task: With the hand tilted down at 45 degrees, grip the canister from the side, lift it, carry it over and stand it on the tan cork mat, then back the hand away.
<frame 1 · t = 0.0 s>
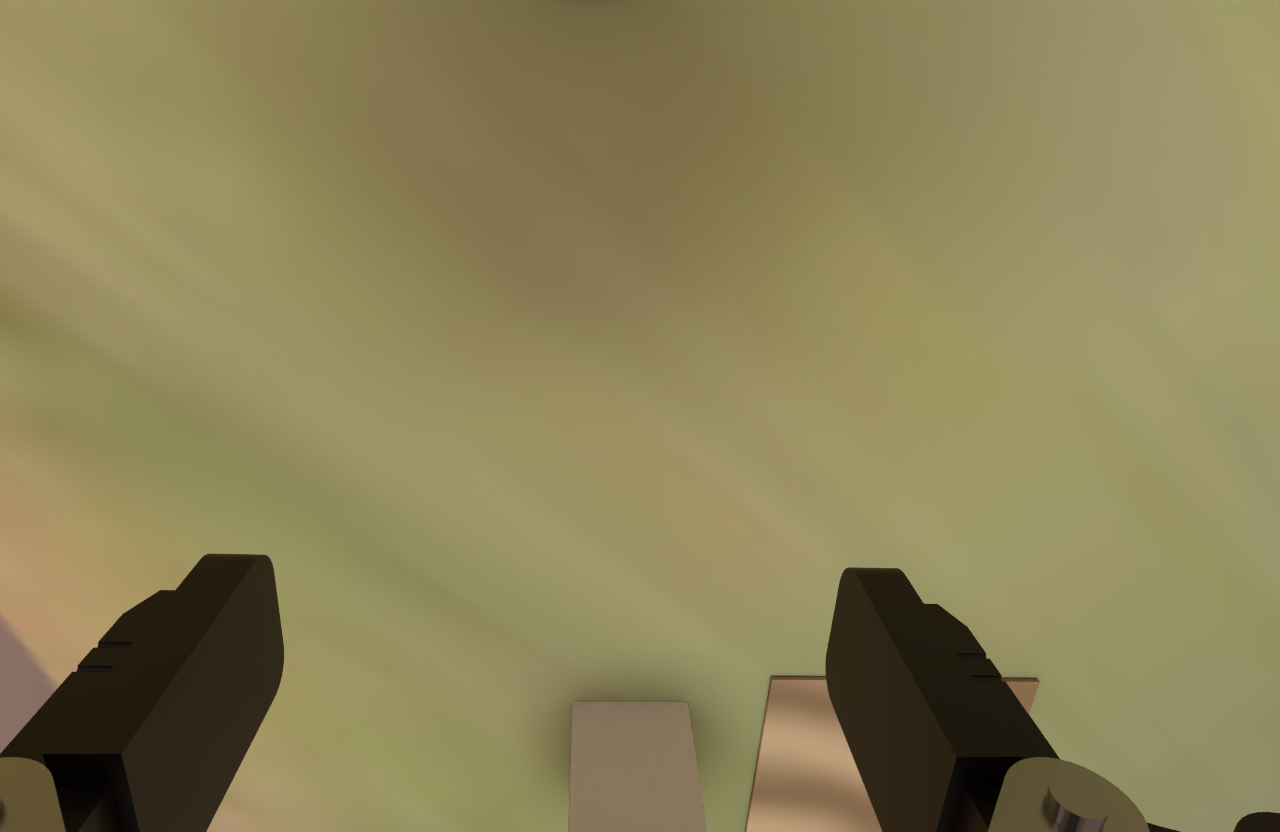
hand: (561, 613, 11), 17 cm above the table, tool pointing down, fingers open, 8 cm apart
canister: (627, 744, 36), on the table
mat: (872, 807, 38), on the table
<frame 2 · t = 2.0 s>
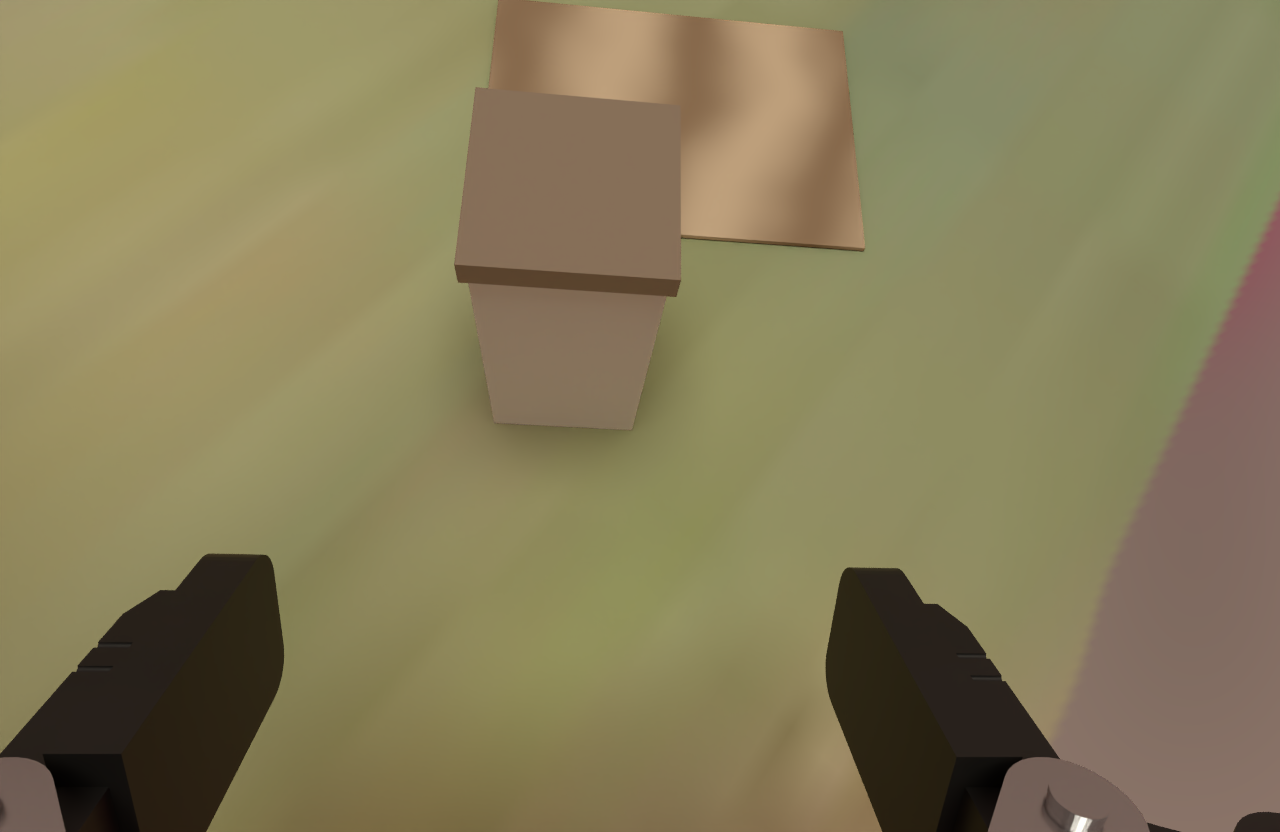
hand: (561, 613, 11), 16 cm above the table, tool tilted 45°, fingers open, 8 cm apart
canister: (567, 364, 30), on the table
mat: (673, 120, 35), on the table
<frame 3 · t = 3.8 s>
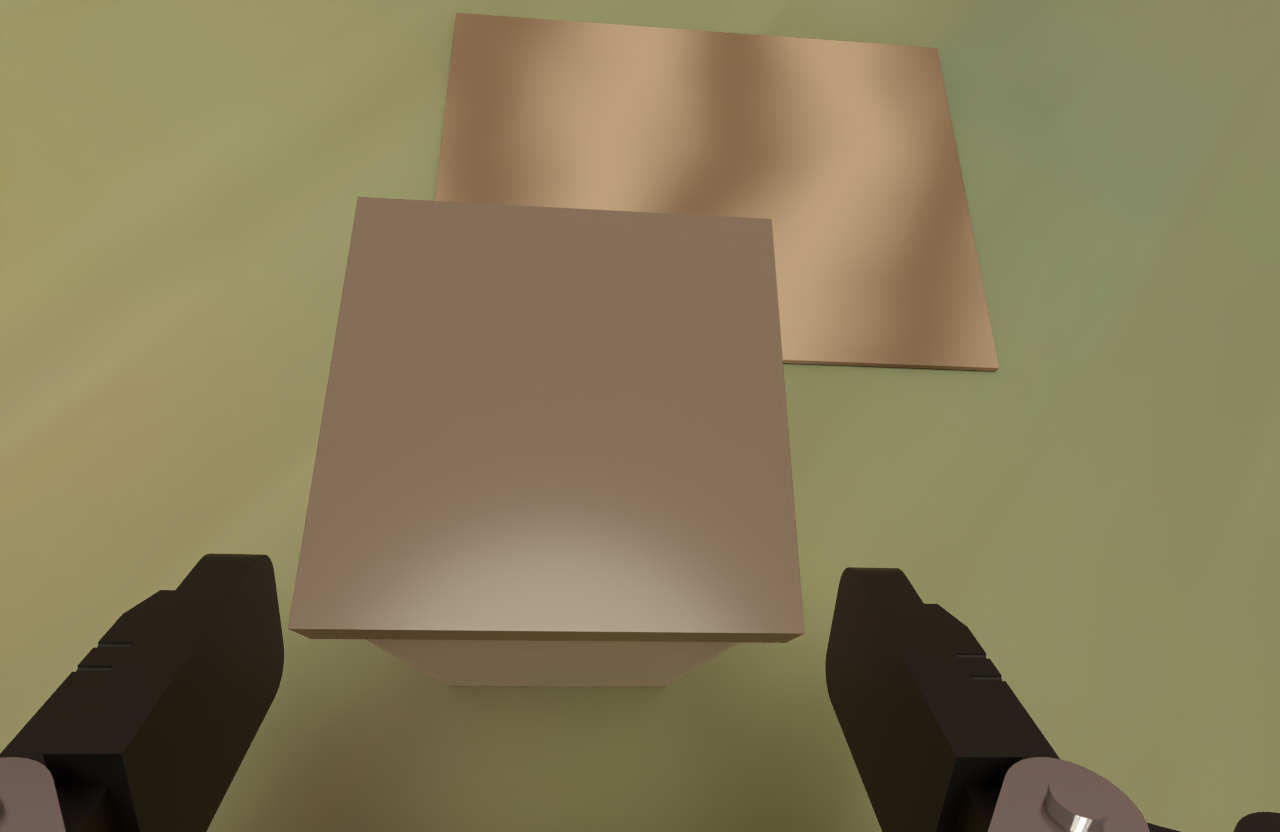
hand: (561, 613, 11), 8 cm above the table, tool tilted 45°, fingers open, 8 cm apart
canister: (562, 577, 19), on the table
mat: (708, 182, 24), on the table
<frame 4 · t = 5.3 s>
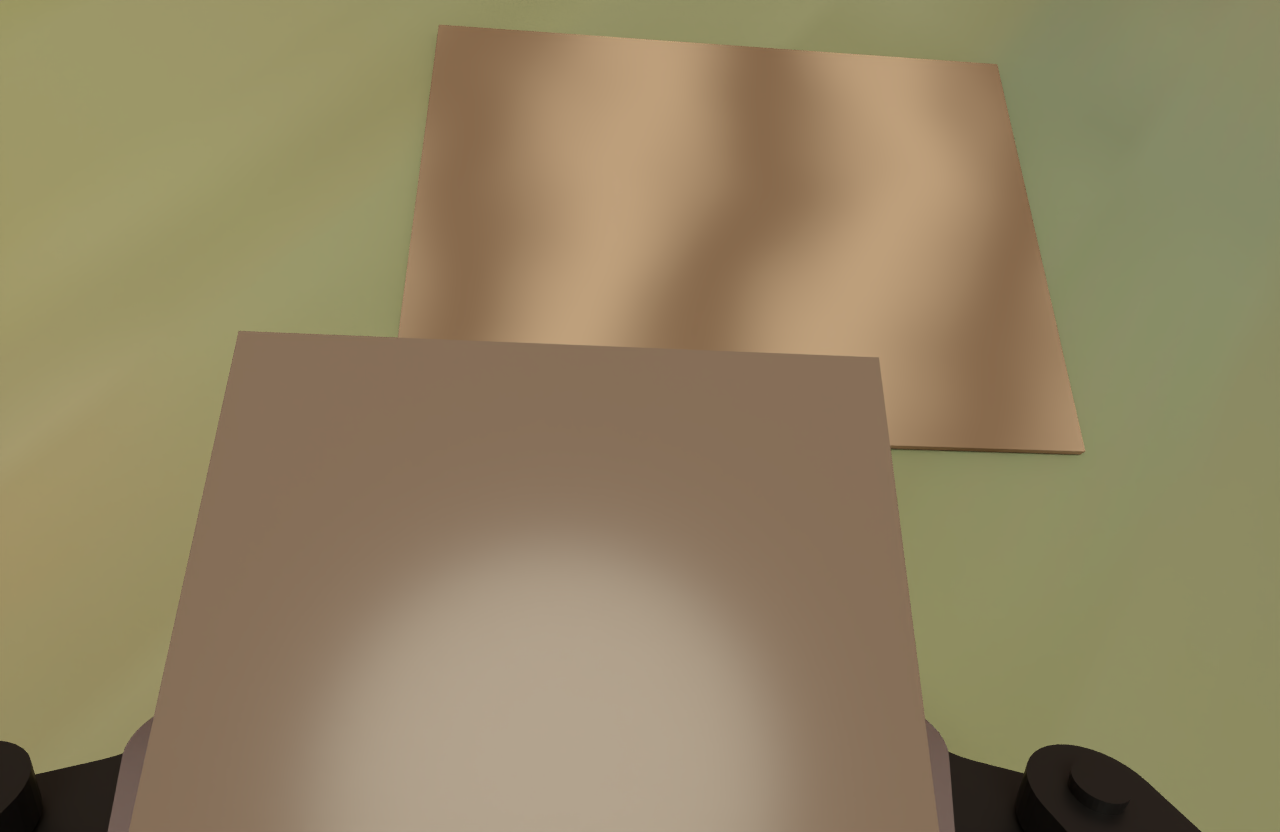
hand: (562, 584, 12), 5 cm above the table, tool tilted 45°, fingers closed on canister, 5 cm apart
canister: (561, 724, 16), on the table, touching gripper
mat: (734, 225, 21), on the table
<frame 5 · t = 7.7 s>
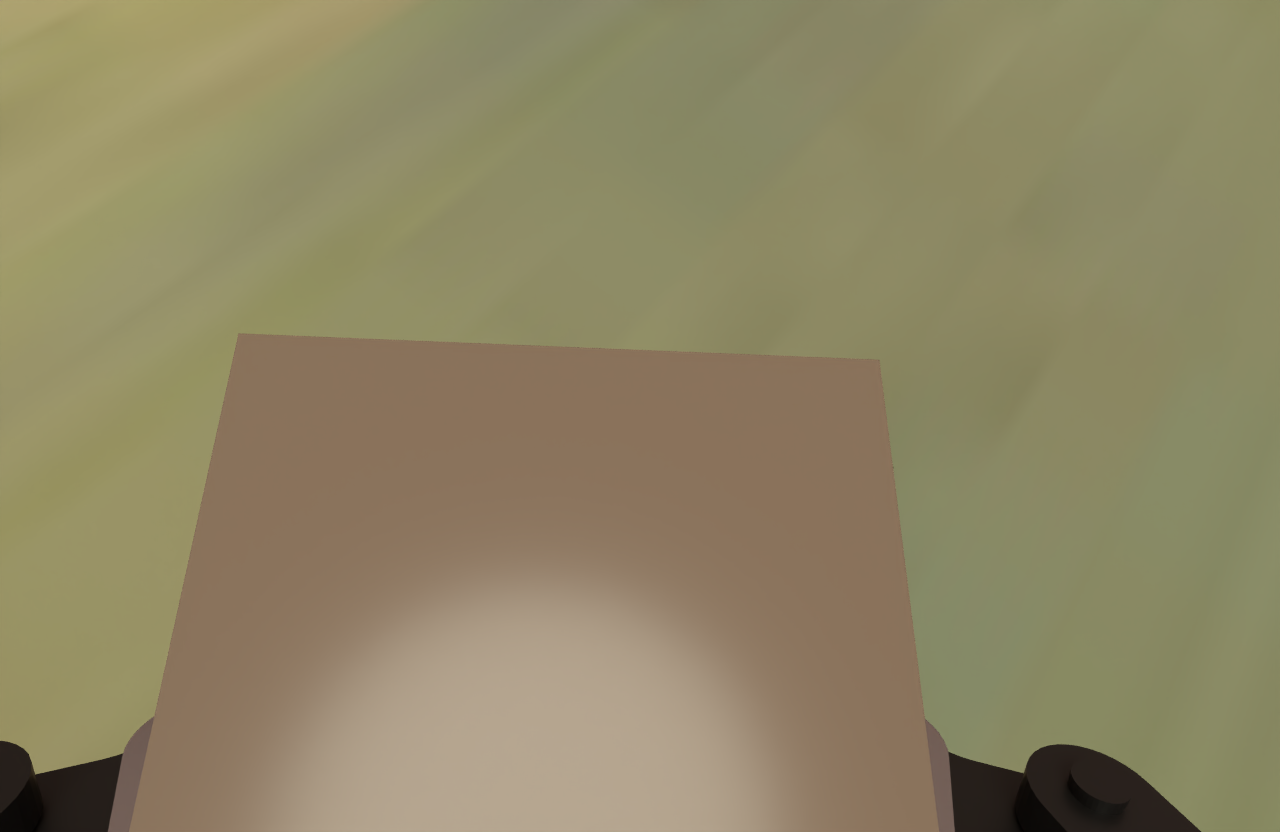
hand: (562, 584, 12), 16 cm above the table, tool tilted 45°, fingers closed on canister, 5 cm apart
canister: (561, 725, 16), point 11 cm above the table, touching gripper
when the fingers open (6 cm above the table, at t = 10.1 s): canister stays where it is, resting on mat.
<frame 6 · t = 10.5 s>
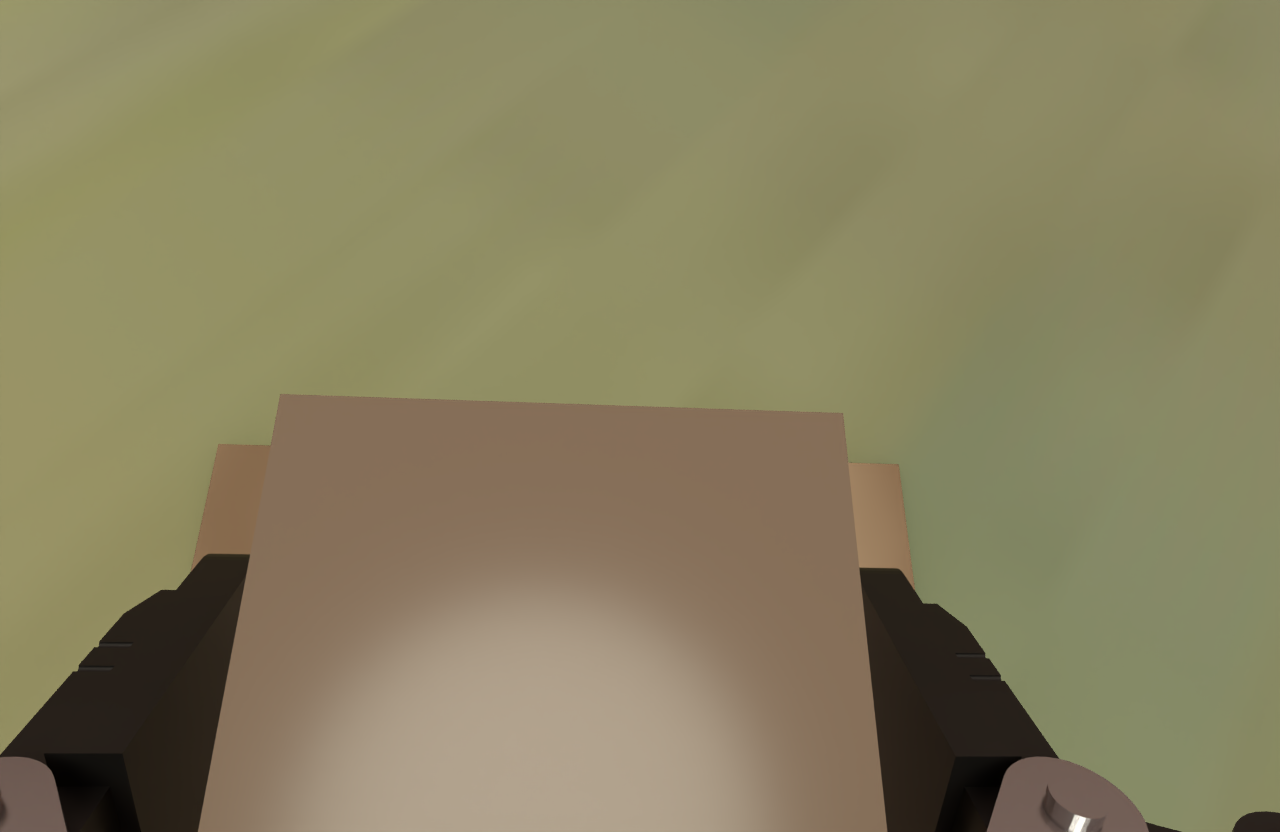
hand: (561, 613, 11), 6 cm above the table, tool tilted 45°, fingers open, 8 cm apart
canister: (562, 730, 17), resting on mat
mat: (560, 727, 17), on the table
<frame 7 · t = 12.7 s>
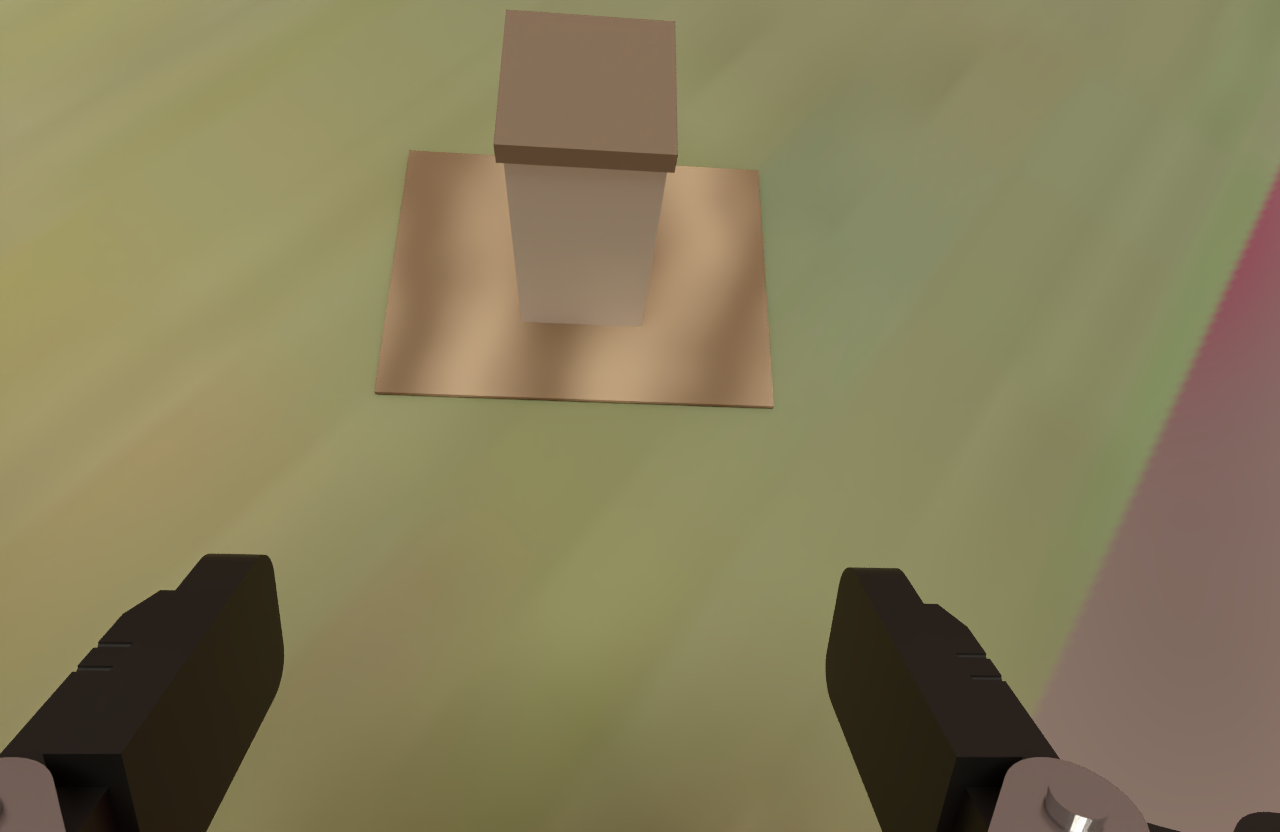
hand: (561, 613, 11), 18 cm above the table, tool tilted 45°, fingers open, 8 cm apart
canister: (583, 273, 35), resting on mat
mat: (582, 274, 35), on the table
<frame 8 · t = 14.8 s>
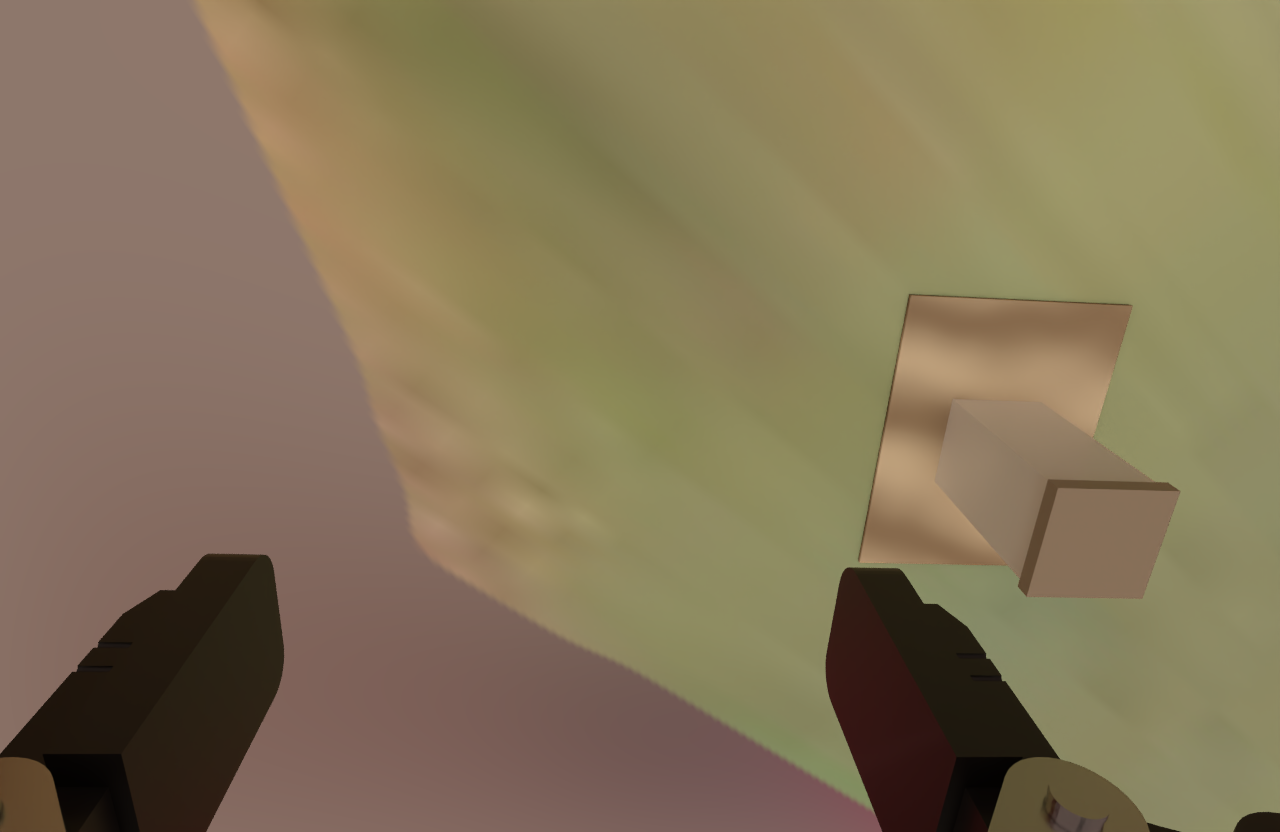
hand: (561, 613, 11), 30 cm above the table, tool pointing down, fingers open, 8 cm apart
canister: (986, 442, 45), resting on mat
mat: (986, 440, 45), on the table
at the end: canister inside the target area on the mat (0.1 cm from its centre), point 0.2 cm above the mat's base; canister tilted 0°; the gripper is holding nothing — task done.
